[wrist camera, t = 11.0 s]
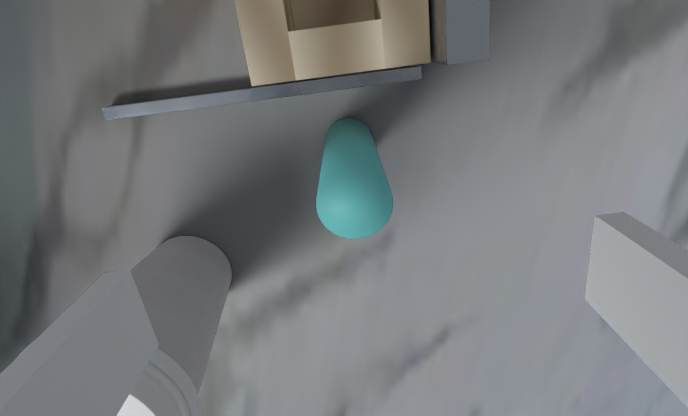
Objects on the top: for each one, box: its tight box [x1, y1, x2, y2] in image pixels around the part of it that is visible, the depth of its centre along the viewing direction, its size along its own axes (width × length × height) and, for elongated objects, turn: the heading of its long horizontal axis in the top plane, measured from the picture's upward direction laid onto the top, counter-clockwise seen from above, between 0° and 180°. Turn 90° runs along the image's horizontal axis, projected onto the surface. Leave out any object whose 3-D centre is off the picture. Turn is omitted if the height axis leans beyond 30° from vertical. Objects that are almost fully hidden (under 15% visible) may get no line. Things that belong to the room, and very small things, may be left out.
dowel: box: [316, 118, 393, 239], centre depth 23 cm, size 3×3×12 cm
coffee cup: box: [19, 236, 232, 416], centre depth 26 cm, size 10×10×15 cm
